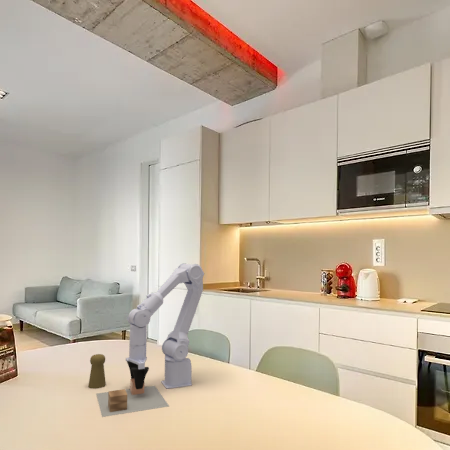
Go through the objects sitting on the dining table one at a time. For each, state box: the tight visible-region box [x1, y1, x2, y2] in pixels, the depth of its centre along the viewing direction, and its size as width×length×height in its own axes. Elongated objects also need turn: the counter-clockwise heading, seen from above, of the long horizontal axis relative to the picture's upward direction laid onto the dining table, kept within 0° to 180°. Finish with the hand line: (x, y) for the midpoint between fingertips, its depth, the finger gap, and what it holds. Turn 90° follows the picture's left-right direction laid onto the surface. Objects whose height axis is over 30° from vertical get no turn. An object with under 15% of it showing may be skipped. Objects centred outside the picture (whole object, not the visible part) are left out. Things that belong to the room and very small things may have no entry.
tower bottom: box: [108, 399, 127, 412], centre depth 118 cm, size 5×5×2 cm
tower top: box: [107, 388, 127, 405], centre depth 118 cm, size 5×5×2 cm
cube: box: [129, 378, 145, 395], centre depth 131 cm, size 4×4×4 cm
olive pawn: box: [88, 353, 107, 390], centre depth 137 cm, size 6×6×11 cm
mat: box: [95, 385, 170, 418], centre depth 124 cm, size 20×20×1 cm
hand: (137, 385), depth 131 cm, fingers open, 7 cm apart
